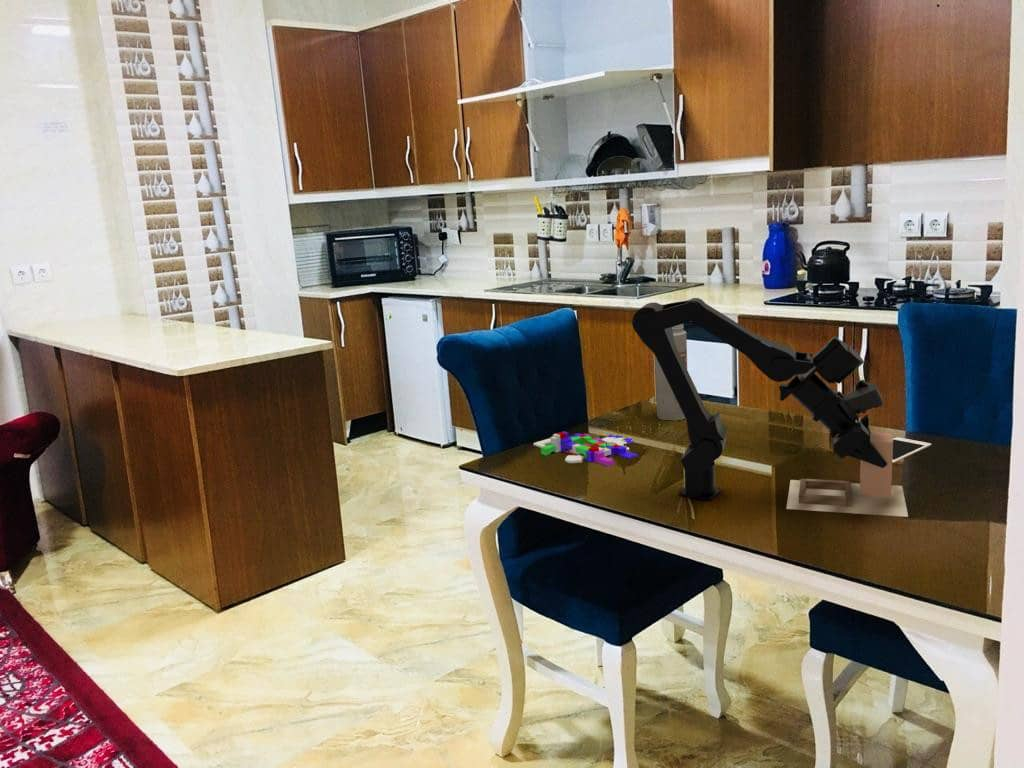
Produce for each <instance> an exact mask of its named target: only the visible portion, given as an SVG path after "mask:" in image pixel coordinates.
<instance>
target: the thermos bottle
mask: <svg viewBox="0 0 1024 768" xmlns="http://www.w3.org/2000/svg"><path fill="white" fill-rule="evenodd" d="M684 327H685V326H684V324H681V325H677V326H674V327H672V331H673V337H674V343H675V346H676V348H677V350H678V352H679V354H680V356H681V358H682V360H683V362H684V364H685V366H686V369H687V370H688V348H687V347H688V345H687V340H688V339H687V331H685V330H684ZM654 363H655V389H656V391H655V393H656V394H655V395H656V413H657V414H656V418H657V417H658V418H659V419H662V420H661V421H663V420H679V419H685V416H684V414H683V412H682V410H681V408H680V406H679V404H678V402H677V400H676V398H675V396H674V394H673V392H672V389H671V387H670V385H669V383H668V381H667V379H666V377H665V375H664V373H663V371H662V369H661V367H660V365H659V363H658V360H657V358H656V356H655V355H654ZM658 418H657V419H658ZM659 419H658V420H659ZM685 420H686V419H685Z"/></svg>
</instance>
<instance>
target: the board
mask: <svg viewBox="0 0 1024 768" xmlns="http://www.w3.org/2000/svg"><path fill="white" fill-rule="evenodd" d="M785 509H786V510H794V511H795V510H798V511H814V512H815V511H816V512H829V513H845V514H857V515H859V514H860V515H874V516H886V517H887V516H889V517H903V518H904V517H905V518H908V517H909V515H908V514H909V513H908V508H907V503H906V499H905V493H904V489H903V485H894V484H893V485H892V484H891V496H887V495H871V494H861V492H860V483H858V482H857V483H856V482H855V483H854V482H852V481H850V480H838V479H837V480H835V479H816V478H800V479H798V480H797V479H790V482H789V489H788V495H787V500H786V508H785Z"/></svg>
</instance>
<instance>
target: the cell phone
mask: <svg viewBox="0 0 1024 768" xmlns="http://www.w3.org/2000/svg"><path fill="white" fill-rule="evenodd" d="M892 440H893V456H892V464H894V463H897V462H898V461H901V460H903V459H905V458H907V457H909V456H911V455H914V454H916V453H917V452H919V451H922V450H924V449H926V448H928V447H930V446H932V443H930V442H925V441H919V440H913V439H909V438H905V437H904V438H903V437H895V438H892Z"/></svg>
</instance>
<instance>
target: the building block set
mask: <svg viewBox="0 0 1024 768" xmlns="http://www.w3.org/2000/svg"><path fill="white" fill-rule="evenodd" d="M623 437H624V436H621V435H614V434H607V435H606V436H605V437H603V438H600V437H596V438H595V437H594V438H593V437H592V436H591V435H590V434H587V433H583V434H582V433H580V432H578V433H574V434H573V435H570V436H569V432H567V431H565V430H564V431H561V432H557V433H554V434H552V436H551V437H549V438H546V439H543V440H539V441H536V442H534V443H533V446H535V447H538V448H540V454H541V455H543V456H549V455H551V454H552V453H559V452H564V453H567V454H568V455H567V456H566V457H565V459H564V462H566V463H568V464H577V463H583V460H586V462H588V463H591V464H592V463H597V464H599V465H603V466H606V467H611V466H614V465H615V459H613V458H609V457H612V456H615V455H616V454H618V455H617V456H619V457H620V456H621V457H620V458H623V457H624V458H623V459H626V458H628V459H627V460H629V459H630V460H632V459H631V458H633V457H636V456H638V457H639V454H637V453H634V452H631V451H630V450H629V449H630V447H628V446H626V445H625V446H624V444H631V443H633V442H635V441H633V439H632V438H628V437H626V438H623ZM631 440H632V441H631ZM606 443H607V444H606ZM627 450H629V451H627ZM614 454H615V455H614ZM607 456H609V457H607ZM636 458H637V457H636ZM633 459H634V458H633Z"/></svg>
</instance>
